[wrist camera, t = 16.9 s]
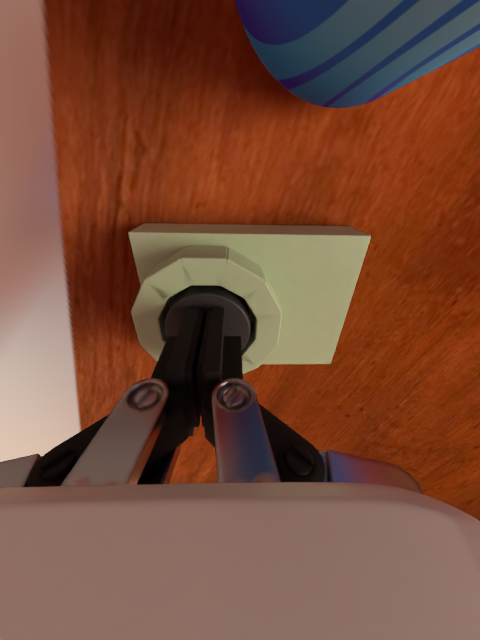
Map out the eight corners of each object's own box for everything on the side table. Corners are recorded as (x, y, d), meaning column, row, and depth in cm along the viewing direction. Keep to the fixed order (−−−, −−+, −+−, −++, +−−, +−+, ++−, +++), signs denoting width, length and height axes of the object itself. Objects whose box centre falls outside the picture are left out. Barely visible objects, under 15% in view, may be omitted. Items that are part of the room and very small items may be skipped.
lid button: (177, 342, 13) (170, 363, 12) (167, 277, 11) (157, 293, 10) (247, 342, 13) (249, 363, 12) (250, 277, 11) (252, 294, 10)
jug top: (167, 343, 16) (150, 387, 13) (143, 222, 12) (108, 242, 9) (320, 342, 17) (341, 386, 13) (351, 226, 12) (395, 246, 9)
